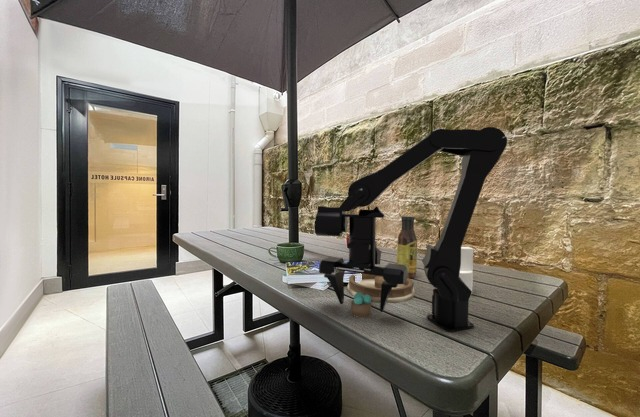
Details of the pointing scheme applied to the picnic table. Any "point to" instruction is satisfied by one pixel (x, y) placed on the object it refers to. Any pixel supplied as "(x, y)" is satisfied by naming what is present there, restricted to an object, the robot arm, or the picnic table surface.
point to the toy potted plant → (361, 305)
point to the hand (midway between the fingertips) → (361, 307)
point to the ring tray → (390, 300)
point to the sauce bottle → (407, 246)
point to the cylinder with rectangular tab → (467, 266)
